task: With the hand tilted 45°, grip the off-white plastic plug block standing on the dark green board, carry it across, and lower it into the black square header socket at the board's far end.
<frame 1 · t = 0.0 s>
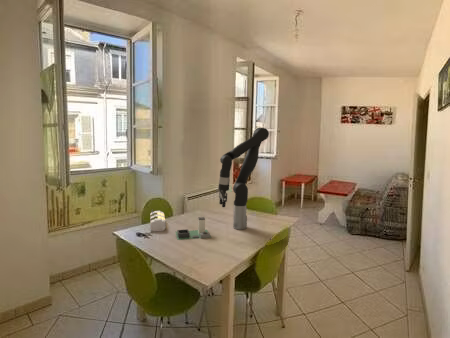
hand: (222, 205, 225), 17 cm above the table, fingers open, 8 cm apart
plug: (201, 233, 212), point 1 cm above the table, touching board
board: (192, 236, 210), on the table
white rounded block: (157, 225, 233), on the table
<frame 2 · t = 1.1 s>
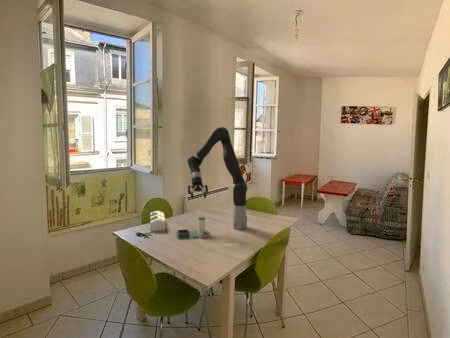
hand: (198, 198, 220), 23 cm above the table, fingers open, 8 cm apart
nothing on the table moved.
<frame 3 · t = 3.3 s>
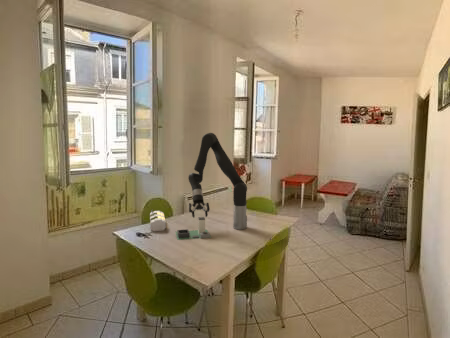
hand: (200, 216, 216), 11 cm above the table, fingers open, 8 cm apart
nothing on the table moved.
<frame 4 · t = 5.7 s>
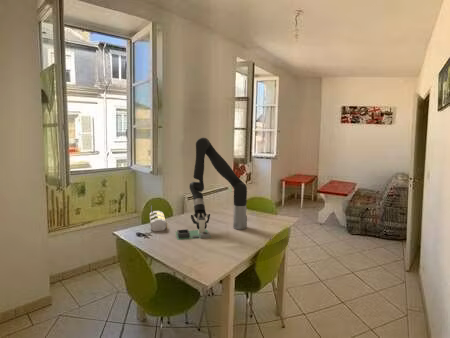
hand: (202, 228, 210), 6 cm above the table, fingers closed on plug, 4 cm apart
plug: (201, 233, 212), point 2 cm above the table, touching board, gripper
everything else where it was.
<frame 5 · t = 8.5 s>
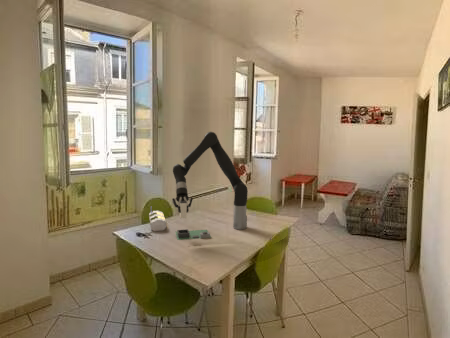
hand: (183, 212, 203), 18 cm above the table, fingers closed on plug, 4 cm apart
plug: (183, 217, 205), point 14 cm above the table, touching gripper
everything else where it was.
when the fingers open (6 cm above the table, at t = 11.5 s): plug stays where it is, resting on board.
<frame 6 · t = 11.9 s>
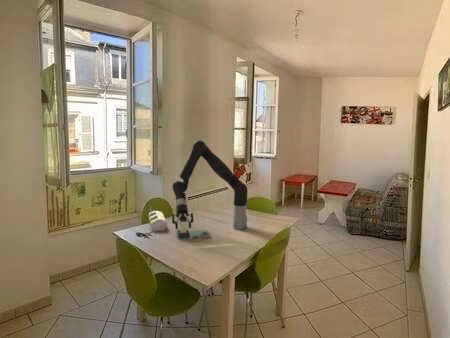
hand: (183, 228, 205), 7 cm above the table, fingers open, 7 cm apart
plug: (183, 235, 207), point 1 cm above the table, touching board
everything else where it was.
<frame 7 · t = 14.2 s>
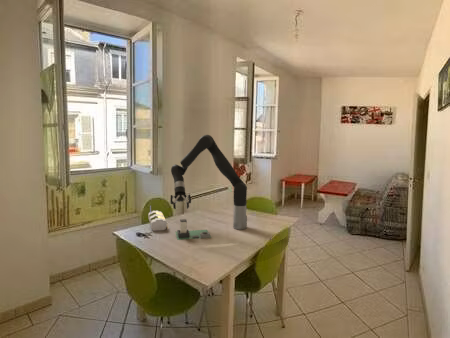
hand: (181, 208, 216), 17 cm above the table, fingers open, 8 cm apart
nothing on the table moved.
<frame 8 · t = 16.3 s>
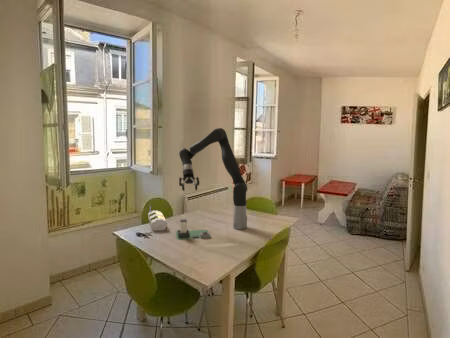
hand: (190, 190, 220), 29 cm above the table, fingers open, 8 cm apart
at the end: plug 0.1 cm from the target spot on the board, point 1.5 cm above the board's base; plug tilted 0°; the gripper is holding nothing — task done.
